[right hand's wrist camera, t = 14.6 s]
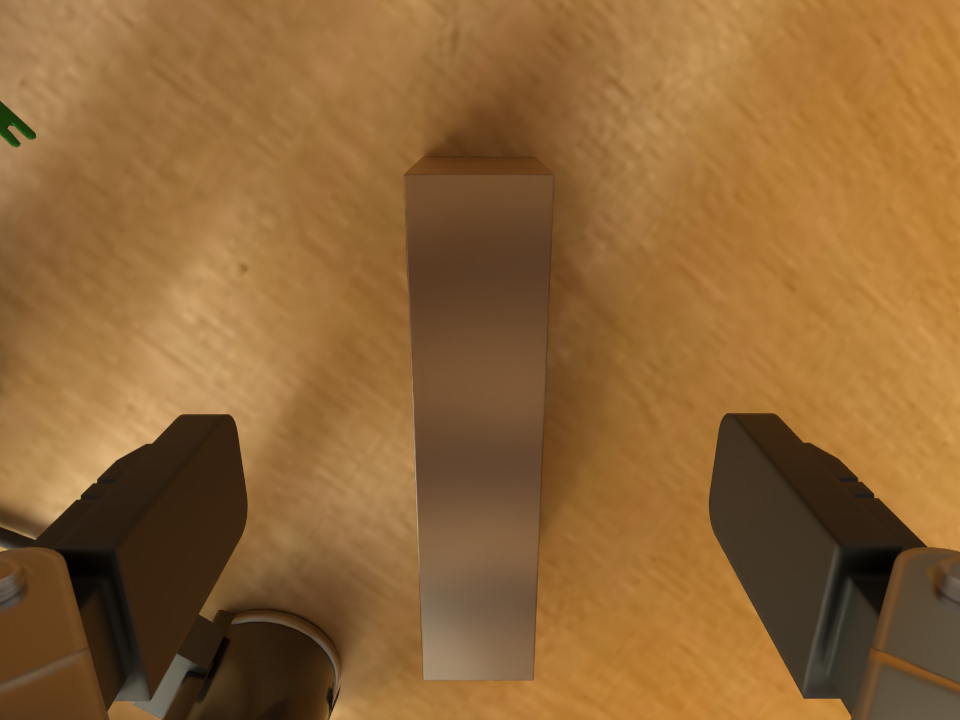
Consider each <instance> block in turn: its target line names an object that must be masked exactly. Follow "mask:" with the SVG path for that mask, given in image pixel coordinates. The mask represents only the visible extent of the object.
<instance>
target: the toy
mask: <svg viewBox="0 0 960 720" xmlns="http://www.w3.org/2000/svg"><path fill="white" fill-rule="evenodd" d="M9 126H15V127H16V128H17V129H18V130H19V131H20V132H21V133H22V134H23V135H24V136H25V137H26V138H27V139H31V140H33V139H35V138H36V134H35V132H34V131H33V130H31V129H30V128H29V127H28V126H27V125H26V124H25V123H24V122H23V121H22V120H21V119H20V118H18V117H17V116H16V115H15V114H14V113H13V112H12V111H11V110H10V109H9V108H7V107H6V106H5V105H4V104H3V103H2V102H1V101H0V135H1V136H2V137H3V138H4V139H5V140H6V141H7V142H8V143H9V144H10V145H12V146H13V147H18V146H20V144H21V143H20V142H19V141H18V140H17V139H16V137H15V136H14V135H13V134H12V133H11V132H10V131H9V130H8V129H7V128H8V127H9Z"/></svg>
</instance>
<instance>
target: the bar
mask: <svg viewBox="0 0 960 720" xmlns="http://www.w3.org/2000/svg"><path fill="white" fill-rule="evenodd" d="M553 197H554V174H553V173H552V172H551V171H550V170H548V169H547V168H546V167H545V166H544V165H543V164H542V163H541V162H540V161H539V160H538V159H537V158H536V157H422V158H421V159H420V160H419V161H418V162H417V163H416V164H415V165H414V166H413V167H412V168H410V169H409V170H408V171H407V172H406V173H405V174H404V198H405V224H406V250H407V276H408V302H409V328H410V354H411V380H412V406H413V432H414V458H415V484H416V510H417V536H418V562H419V588H420V614H421V640H422V666H423V680H508V681H532V680H533V679H534V658H535V634H536V609H537V585H538V561H539V537H540V512H541V488H542V464H543V439H544V415H545V391H546V367H547V342H548V318H549V294H550V269H551V245H552V221H553Z"/></svg>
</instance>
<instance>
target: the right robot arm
mask: <svg viewBox="0 0 960 720" xmlns="http://www.w3.org/2000/svg"><path fill="white" fill-rule="evenodd" d="M247 506H248V504H247V493H246V486H245V479H244V473H243V466H242V459H241V452H240V446H239V439H238V432H237V427H236V423H235V421H234V419H233V417H232V416H231V415H229V414H182V415H180V416H179V417H178V418H177V419H176V420H175V421H174V422H173V423H172V424H171V425H170V426H169V427H168V428H167V429H166V430H165V431H164V432H163V433H162V434H161V435H160V436H159V437H158V438H157V439H156V440H155V441H154V442H153V443H152V444H145V445H144V446H142V447H140V448H138V449H136V450H134V451H133V452H131V453H129V454H127V455H125V456H124V457H122V458H120V459H118V460H117V461H116V462H115V463H113V464H112V465H111V466H110V467H109V468H108V469H107V470H106V471H105V472H104V473H103V474H102V475H101V476H100V477H99V478H98V479H97V483H93V484H92V485H91V486H90V487H89V488H88V489H87V490H86V491H85V492H84V493H83V494H82V495H81V499H80V500H76V501H75V502H74V503H73V504H72V505H71V506H70V507H69V508H68V509H67V510H66V511H65V512H64V513H63V514H62V515H61V516H60V517H59V518H58V519H56V520H55V521H54V522H53V523H52V524H51V525H50V526H49V527H48V528H47V529H46V530H45V531H44V532H43V533H42V534H41V535H40V536H39V537H38V538H37V539H36V540H34V539H31V538H28V537H26V536H23V535H20V534H18V533H15V532H13V531H10V530H7V529H4V528H2V527H0V546H1V547H4V548H6V549H9V550H6V551H2V552H0V720H109V717H108V714H107V711H108V710H109V708H110V706H111V705H112V703H113V701H133V702H132V704H133V705H135V706H137V707H139V708H140V709H142V710H144V711H146V712H148V713H150V714H152V715H154V716H156V717H158V718H159V719H161V720H329V718H330V716H331V713H332V711H333V708H334V706H335V703H336V701H337V698H338V695H339V690H340V688H339V690H338V693H337V695H336V698H335V700H334V703H333V699H334V696H335V694H336V690H337V687H338V682H339V678H340V661H339V657H338V654H337V652H336V650H335V648H334V646H333V644H332V643H331V641H330V640H329V639H328V638H327V637H326V636H325V635H324V633H322V632H321V631H320V630H319V629H318V628H316V627H315V626H314V625H312V624H310V623H309V622H307V621H305V620H303V619H301V618H299V617H296V616H294V615H291V614H288V613H283V612H279V611H271V610H253V611H246V612H242V613H238V614H235V613H230V612H227V611H224V610H219V611H218V612H217V613H216V615H215V617H214V619H213V621H212V622H211V621H209V620H207V619H206V618H204V617H202V616H200V615H199V612H200V611H201V609H202V607H203V605H204V603H205V602H206V600H207V598H208V596H209V594H210V593H211V591H212V589H213V587H214V585H215V583H216V582H217V580H218V578H219V576H220V574H221V573H222V571H223V569H224V567H225V565H226V563H227V562H228V560H229V558H230V556H231V554H232V553H233V551H234V549H235V547H236V545H237V544H238V542H239V540H240V538H241V536H242V534H243V531H244V528H245V524H246V518H247ZM709 514H710V520H711V525H712V529H713V531H714V534H715V536H716V538H717V540H718V542H719V543H720V545H721V547H722V549H723V551H724V553H725V554H726V556H727V558H728V560H729V562H730V564H731V565H732V567H733V569H734V571H735V573H736V575H737V576H738V578H739V580H740V582H741V584H742V586H743V588H744V589H745V591H746V593H747V595H748V597H749V599H750V600H751V602H752V604H753V606H754V608H755V610H756V611H757V613H758V615H759V617H760V619H761V621H762V622H763V624H764V626H765V628H766V630H767V632H768V633H769V635H770V637H771V639H772V641H773V643H774V644H775V646H776V648H777V650H778V652H779V654H780V655H781V657H782V659H783V661H784V663H785V665H786V666H787V668H788V670H789V672H790V674H791V676H792V678H793V679H794V681H795V683H796V685H797V687H798V689H799V690H800V692H801V694H802V696H803V698H804V699H841V700H842V702H843V704H844V705H845V707H846V708H847V710H848V712H849V713H850V715H851V720H960V552H958V551H954V550H949V549H943V548H935V547H927V546H926V545H925V544H924V543H923V542H922V541H921V540H920V539H919V538H918V537H917V536H916V535H915V534H914V533H913V532H912V531H911V530H910V529H909V528H908V527H907V526H906V525H905V524H904V523H903V522H902V521H901V520H900V519H899V518H898V517H897V516H896V515H895V514H894V513H893V512H892V511H891V510H890V509H889V508H888V507H887V506H886V505H885V504H884V503H883V502H882V501H881V500H880V499H879V498H874V494H873V493H872V492H871V491H870V490H869V489H868V488H867V487H866V486H865V485H864V484H863V483H862V482H858V478H857V477H856V476H855V475H854V474H853V473H852V472H851V471H850V470H849V469H848V468H847V467H846V466H845V465H844V464H843V463H842V462H841V461H840V460H839V459H838V458H836V457H834V456H832V455H831V454H829V453H827V452H825V451H823V450H821V449H820V448H818V447H816V446H814V445H812V444H811V443H803V442H802V441H801V440H800V439H799V438H798V437H797V435H796V434H795V433H794V432H793V431H792V430H791V429H790V428H789V427H788V426H787V425H786V424H785V423H784V422H783V421H782V420H781V419H780V418H779V417H778V416H777V415H776V414H774V413H728V414H726V415H725V416H724V417H723V418H722V421H721V423H720V427H719V433H718V440H717V447H716V454H715V461H714V467H713V474H712V481H711V488H710V495H709ZM340 686H341V685H340ZM332 703H333V705H332ZM331 707H332V708H331Z"/></svg>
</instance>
